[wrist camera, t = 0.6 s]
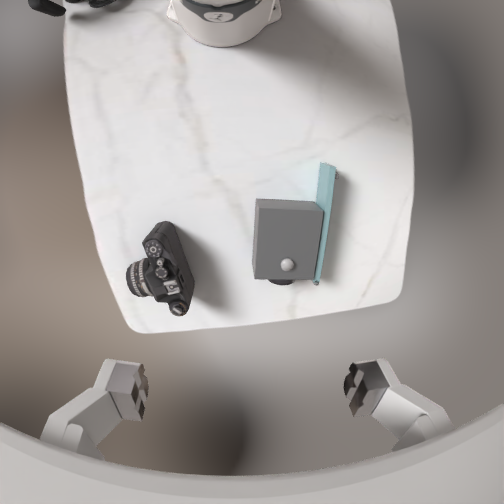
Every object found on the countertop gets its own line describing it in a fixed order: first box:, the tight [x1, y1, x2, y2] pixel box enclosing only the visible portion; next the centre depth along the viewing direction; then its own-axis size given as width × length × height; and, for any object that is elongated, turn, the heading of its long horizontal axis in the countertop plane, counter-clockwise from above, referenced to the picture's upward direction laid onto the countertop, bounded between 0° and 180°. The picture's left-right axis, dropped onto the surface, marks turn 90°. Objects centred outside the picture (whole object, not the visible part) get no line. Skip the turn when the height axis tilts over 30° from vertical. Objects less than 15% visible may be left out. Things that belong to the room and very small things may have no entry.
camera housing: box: [252, 199, 324, 285], centre depth 48 cm, size 13×10×7 cm
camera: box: [126, 221, 194, 316], centre depth 47 cm, size 14×11×10 cm
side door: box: [312, 162, 339, 285], centre depth 47 cm, size 20×2×5 cm, turn 177°
